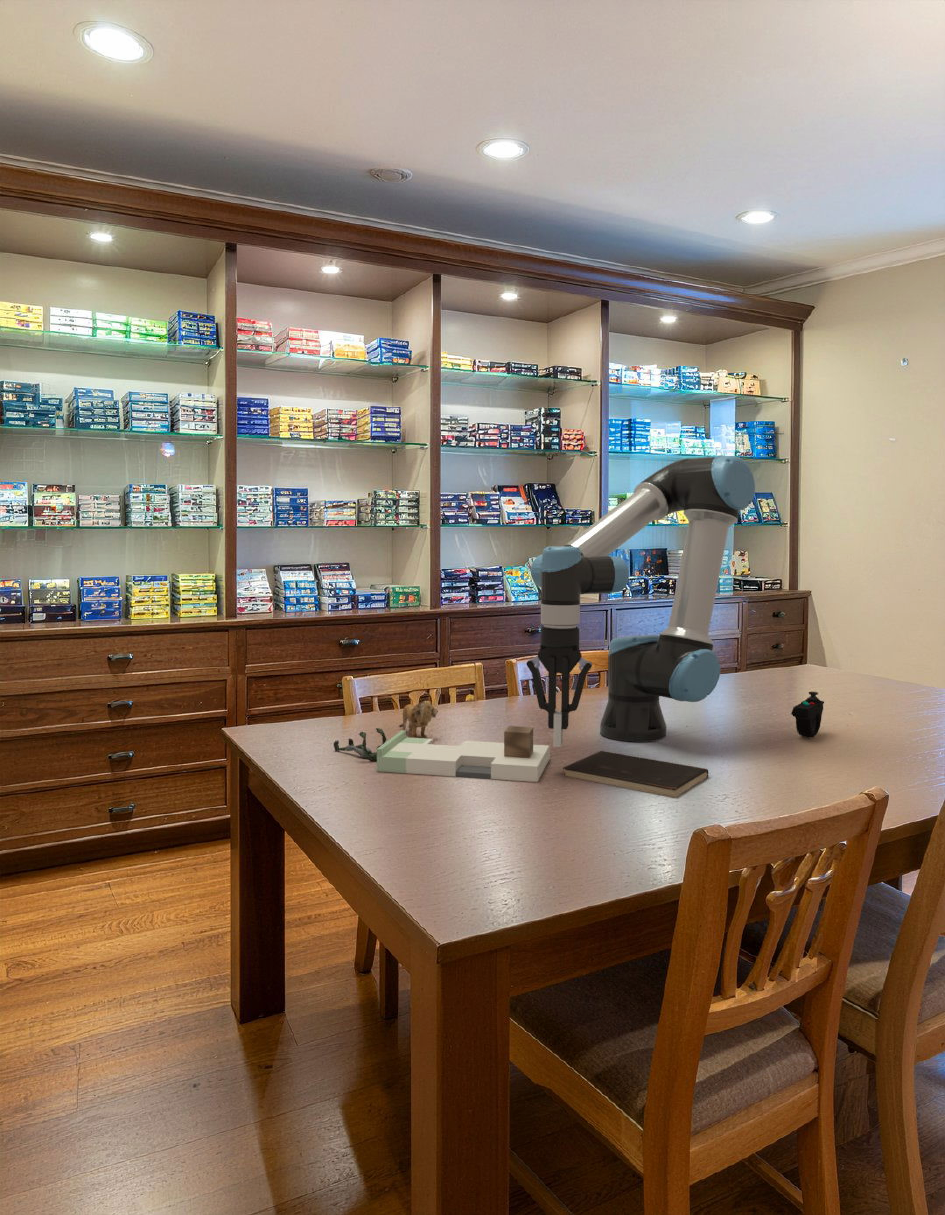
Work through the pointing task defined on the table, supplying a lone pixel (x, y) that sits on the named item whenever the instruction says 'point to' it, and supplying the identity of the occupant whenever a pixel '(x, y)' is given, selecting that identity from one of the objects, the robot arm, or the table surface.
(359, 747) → the zombie figurine
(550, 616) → the robot arm
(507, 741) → the walnut block
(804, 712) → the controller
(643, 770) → the hardcover book
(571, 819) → the table surface
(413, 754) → the trap board
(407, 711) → the lion figurine
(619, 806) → the table surface
